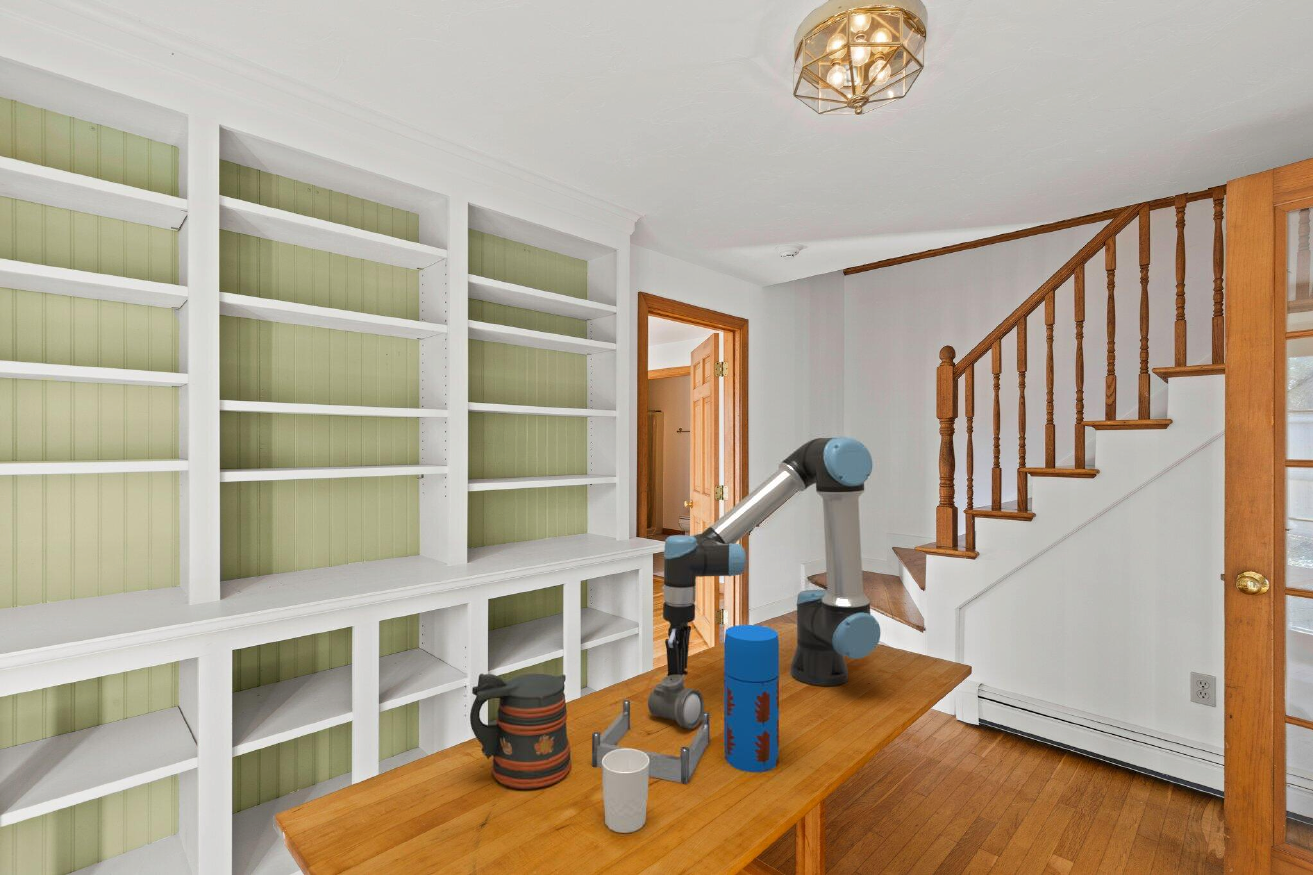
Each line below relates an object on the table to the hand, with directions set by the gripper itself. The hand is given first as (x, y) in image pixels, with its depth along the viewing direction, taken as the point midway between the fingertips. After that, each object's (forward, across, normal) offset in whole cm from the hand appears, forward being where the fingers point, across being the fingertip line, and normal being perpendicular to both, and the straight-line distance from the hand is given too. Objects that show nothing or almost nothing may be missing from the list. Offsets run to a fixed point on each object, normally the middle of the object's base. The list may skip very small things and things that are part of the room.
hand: (677, 703), depth 142 cm
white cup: (+2, +42, +4) cm, 42 cm away
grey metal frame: (+2, +19, +1) cm, 19 cm away
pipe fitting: (+2, +4, +1) cm, 5 cm away
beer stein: (+3, +35, -20) cm, 41 cm away
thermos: (+2, +15, +20) cm, 25 cm away
